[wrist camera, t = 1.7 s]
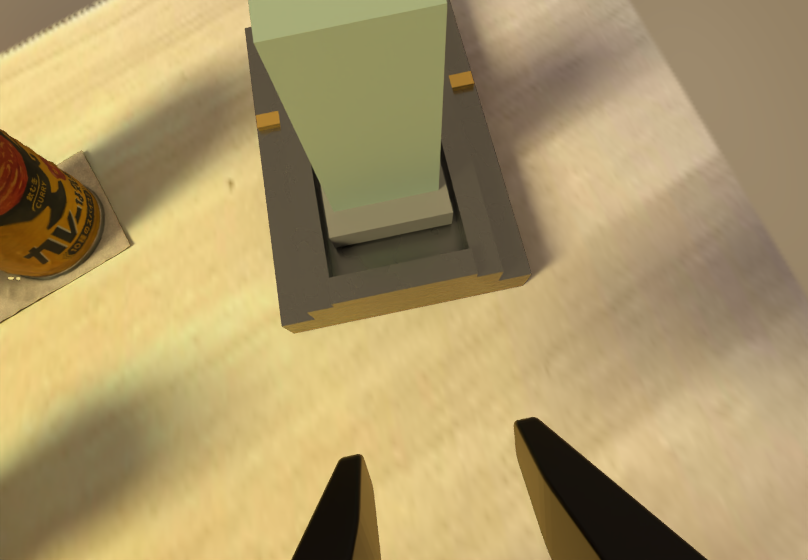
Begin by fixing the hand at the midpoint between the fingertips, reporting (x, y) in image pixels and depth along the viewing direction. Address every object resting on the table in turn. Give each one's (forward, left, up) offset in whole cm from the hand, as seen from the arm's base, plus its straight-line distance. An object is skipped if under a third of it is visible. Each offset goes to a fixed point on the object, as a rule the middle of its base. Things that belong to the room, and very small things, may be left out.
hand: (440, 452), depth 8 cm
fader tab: (+9, -7, -11) cm, 16 cm away
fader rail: (+11, -10, -14) cm, 20 cm away
